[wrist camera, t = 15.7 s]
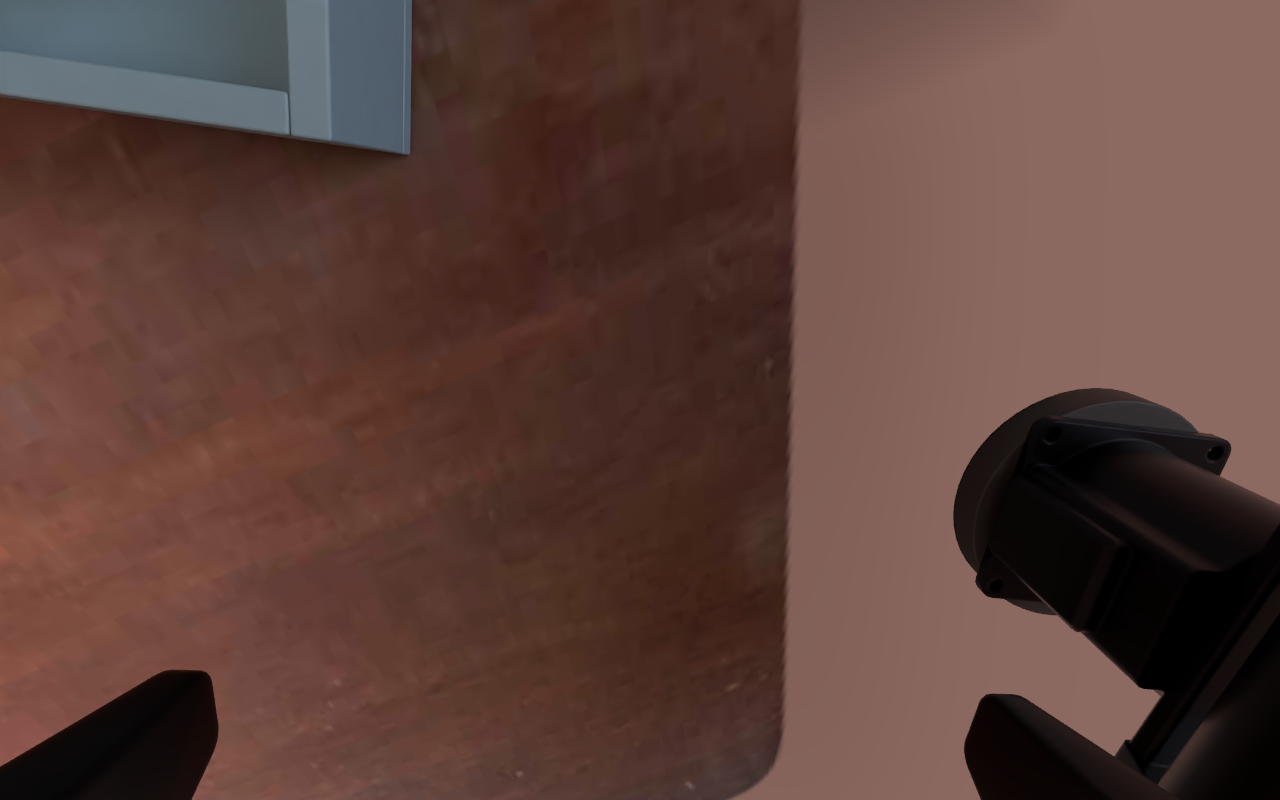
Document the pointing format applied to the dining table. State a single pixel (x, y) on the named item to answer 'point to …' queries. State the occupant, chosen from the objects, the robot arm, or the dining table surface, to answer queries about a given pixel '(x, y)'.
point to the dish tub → (221, 64)
